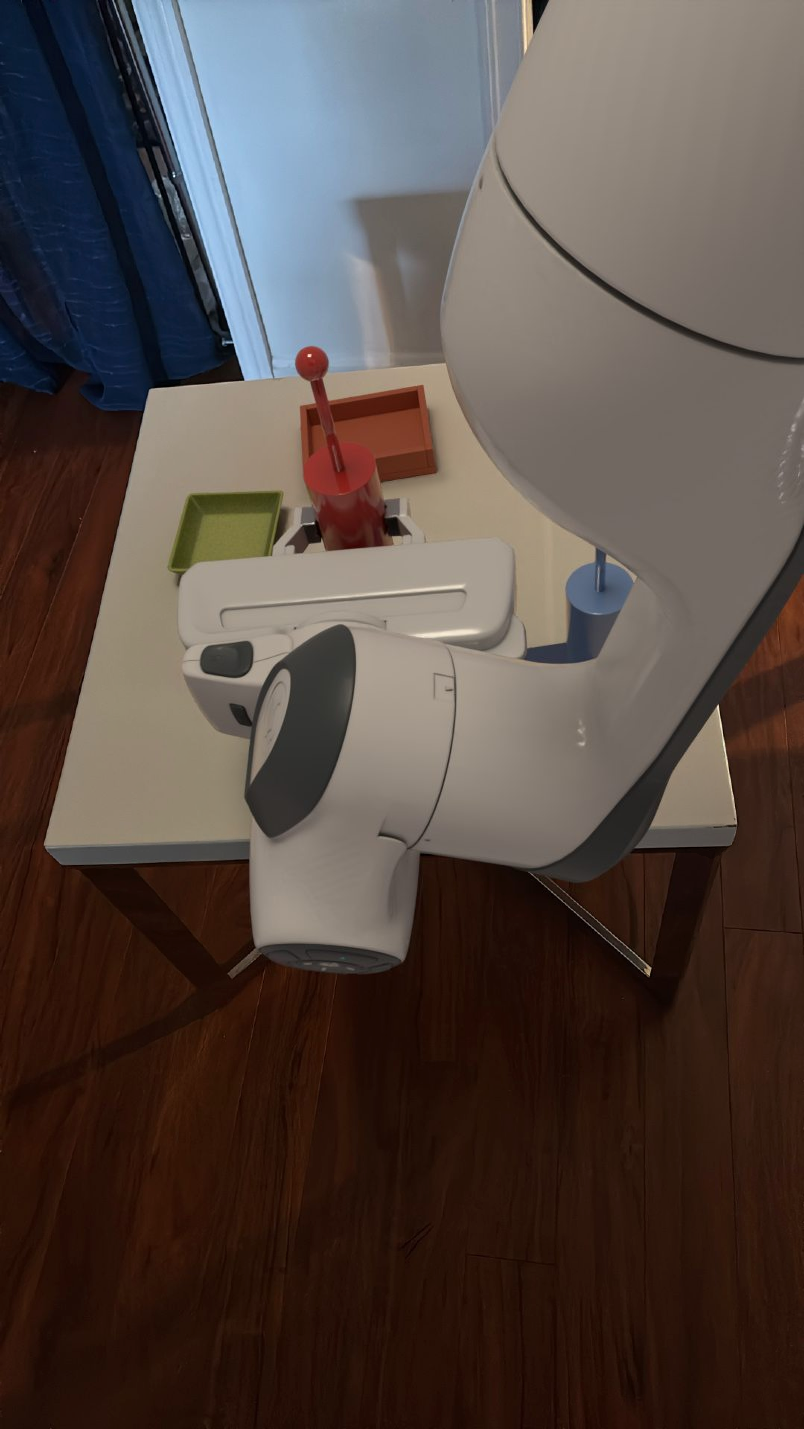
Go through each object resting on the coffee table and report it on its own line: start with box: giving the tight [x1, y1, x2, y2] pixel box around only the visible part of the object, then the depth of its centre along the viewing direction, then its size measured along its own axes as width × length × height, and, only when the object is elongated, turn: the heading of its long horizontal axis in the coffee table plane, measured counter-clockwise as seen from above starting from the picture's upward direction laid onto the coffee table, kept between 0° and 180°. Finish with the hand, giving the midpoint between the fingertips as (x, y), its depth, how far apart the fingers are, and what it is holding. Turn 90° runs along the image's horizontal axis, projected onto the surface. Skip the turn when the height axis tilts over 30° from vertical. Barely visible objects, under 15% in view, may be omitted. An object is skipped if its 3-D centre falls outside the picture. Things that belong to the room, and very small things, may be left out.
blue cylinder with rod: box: [564, 547, 635, 664], centre depth 68 cm, size 4×4×18 cm
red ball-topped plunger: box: [294, 345, 395, 551], centre depth 62 cm, size 4×4×18 cm
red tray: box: [299, 384, 437, 483], centre depth 92 cm, size 11×8×3 cm
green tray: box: [167, 490, 284, 575], centre depth 88 cm, size 9×9×2 cm
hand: (352, 509), depth 66 cm, fingers closed on red ball-topped plunger, 4 cm apart
